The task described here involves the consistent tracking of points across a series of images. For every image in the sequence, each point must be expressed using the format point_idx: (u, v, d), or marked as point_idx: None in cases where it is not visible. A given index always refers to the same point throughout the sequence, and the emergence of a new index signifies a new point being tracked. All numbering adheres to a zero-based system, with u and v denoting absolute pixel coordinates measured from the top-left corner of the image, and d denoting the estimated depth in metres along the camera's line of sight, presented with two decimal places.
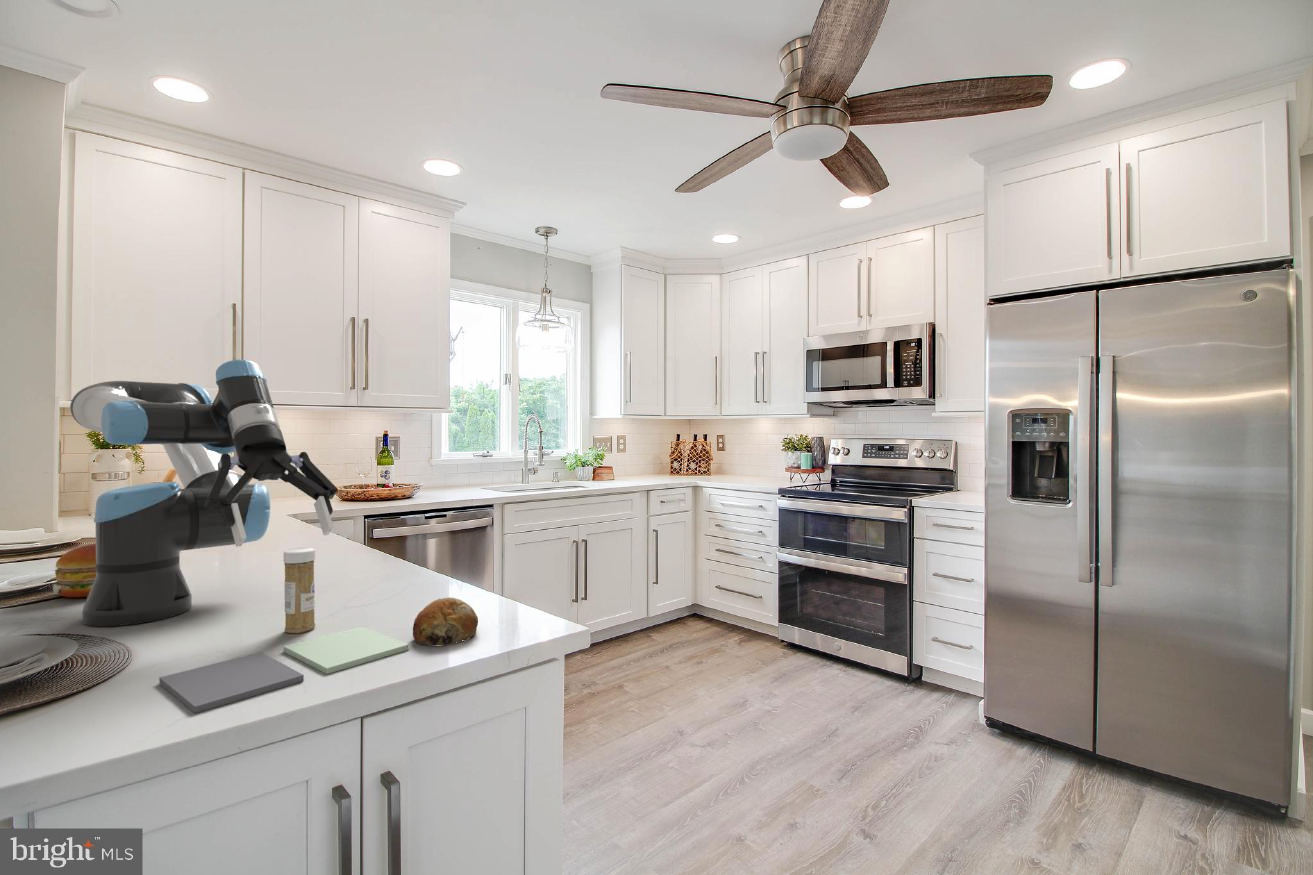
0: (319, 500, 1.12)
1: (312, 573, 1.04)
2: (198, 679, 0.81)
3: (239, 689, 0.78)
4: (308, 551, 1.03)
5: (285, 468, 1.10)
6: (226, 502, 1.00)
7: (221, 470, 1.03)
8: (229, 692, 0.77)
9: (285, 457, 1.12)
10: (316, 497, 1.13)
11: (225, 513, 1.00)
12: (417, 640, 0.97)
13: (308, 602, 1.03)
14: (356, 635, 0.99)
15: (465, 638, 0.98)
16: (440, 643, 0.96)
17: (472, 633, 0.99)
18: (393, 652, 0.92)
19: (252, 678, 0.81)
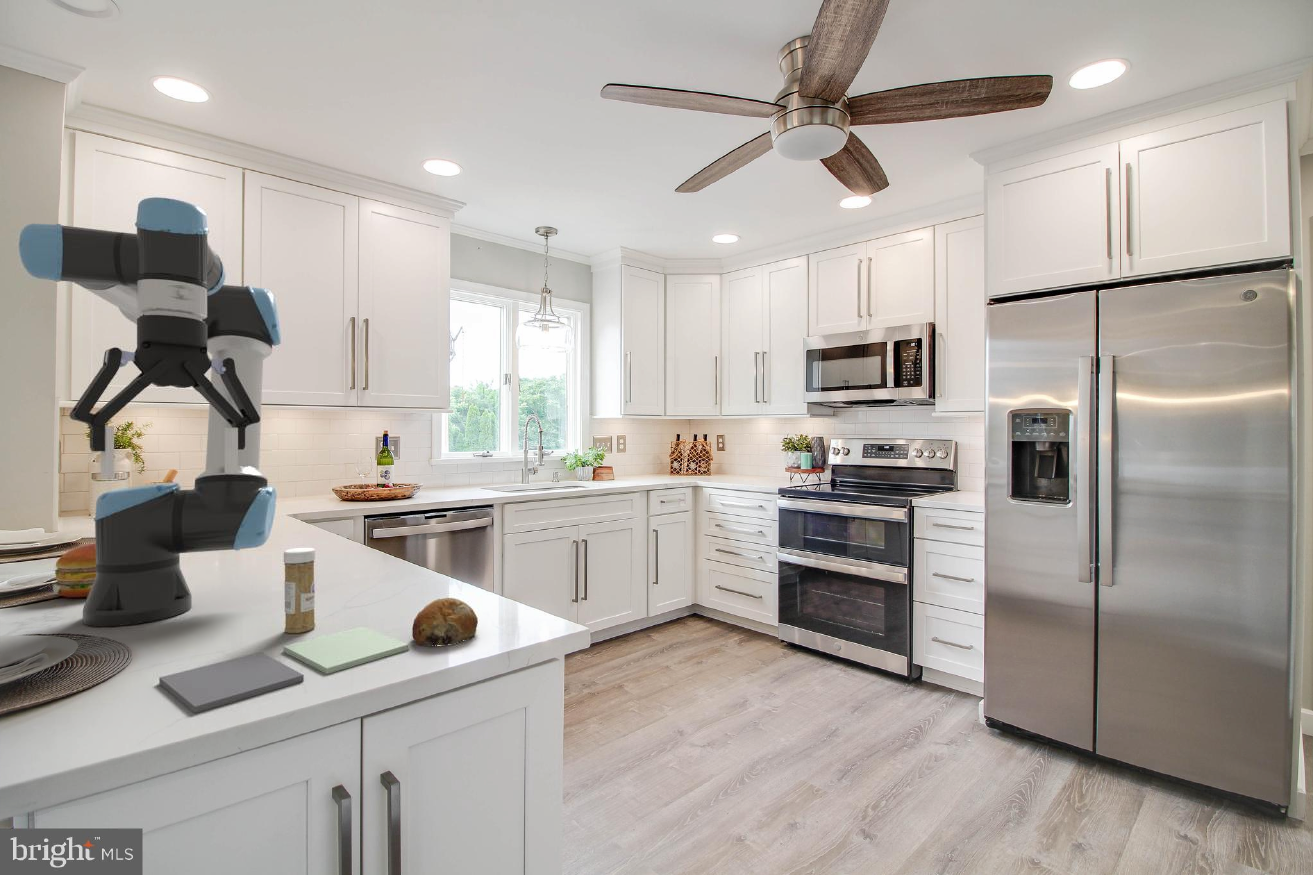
0: (230, 432, 0.88)
1: (312, 573, 1.04)
2: (198, 679, 0.81)
3: (239, 689, 0.78)
4: (308, 551, 1.03)
5: (197, 381, 0.85)
6: (98, 423, 0.77)
7: (103, 373, 0.77)
8: (229, 692, 0.77)
9: (202, 363, 0.86)
10: (230, 420, 0.90)
11: (94, 437, 0.77)
12: (417, 640, 0.97)
13: (309, 602, 1.03)
14: (356, 635, 0.99)
15: (465, 638, 0.98)
16: (440, 643, 0.96)
17: (472, 633, 0.99)
18: (393, 652, 0.92)
19: (252, 678, 0.81)
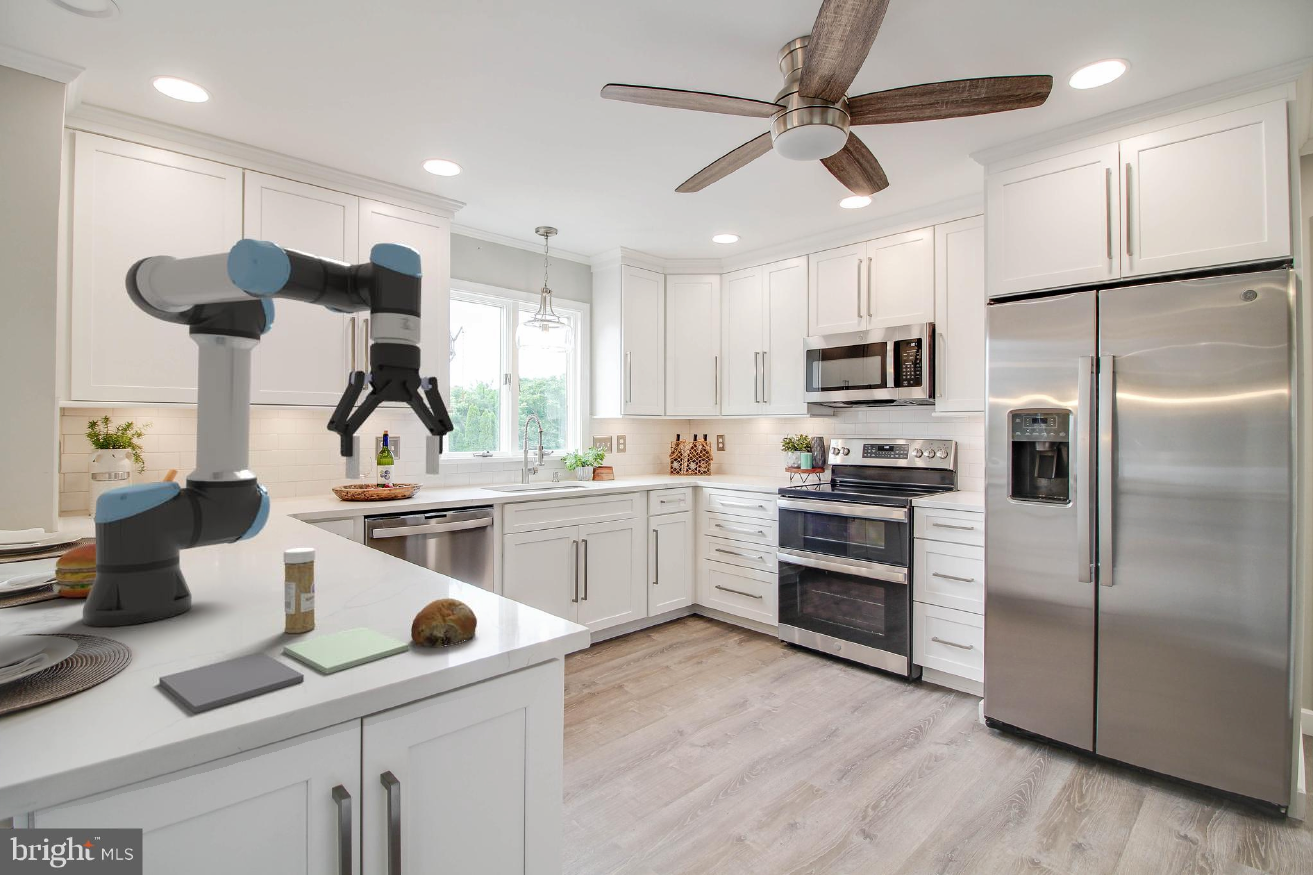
0: (434, 439, 1.05)
1: (312, 573, 1.04)
2: (198, 679, 0.81)
3: (239, 689, 0.78)
4: (308, 551, 1.03)
5: (413, 397, 1.01)
6: (349, 434, 0.93)
7: (353, 392, 0.93)
8: (229, 692, 0.77)
9: (416, 382, 1.02)
10: (431, 429, 1.06)
11: (345, 445, 0.93)
12: (416, 641, 0.96)
13: (309, 602, 1.03)
14: (356, 635, 0.99)
15: (464, 639, 0.98)
16: (439, 644, 0.96)
17: (471, 634, 0.99)
18: (393, 652, 0.92)
19: (252, 678, 0.81)
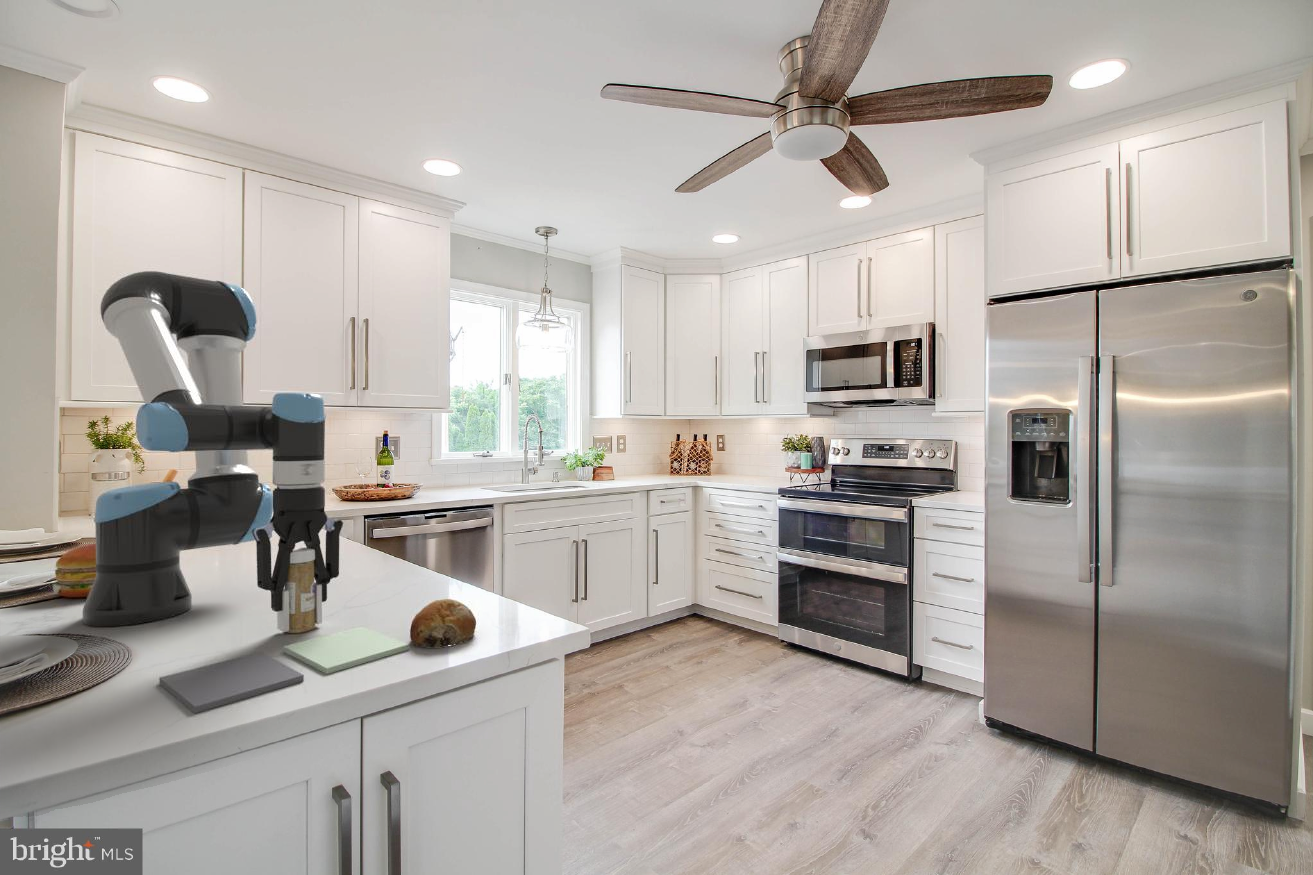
0: (316, 589, 1.05)
1: (312, 573, 1.04)
2: (198, 679, 0.81)
3: (239, 689, 0.78)
4: (308, 551, 1.03)
5: (310, 538, 1.04)
6: (280, 590, 1.00)
7: (263, 551, 0.98)
8: (229, 692, 0.77)
9: (320, 519, 1.05)
10: (314, 576, 1.06)
11: (275, 601, 1.00)
12: (414, 642, 0.96)
13: (309, 602, 1.03)
14: (356, 635, 0.99)
15: (463, 640, 0.98)
16: (438, 645, 0.95)
17: (470, 635, 0.98)
18: (393, 652, 0.92)
19: (252, 678, 0.81)
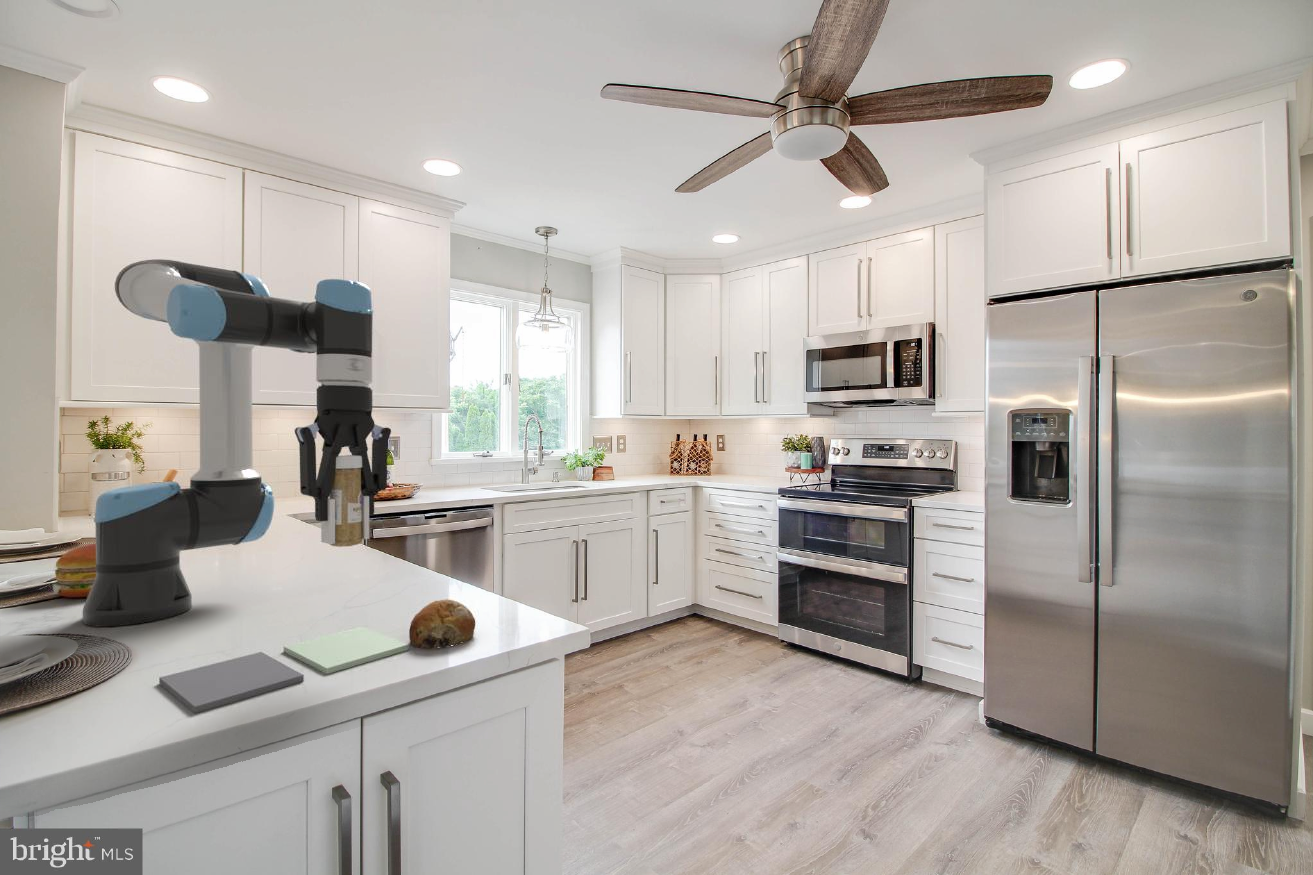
0: (363, 500, 0.95)
1: (359, 482, 0.94)
2: (198, 679, 0.81)
3: (239, 689, 0.78)
4: (355, 456, 0.93)
5: (357, 443, 0.94)
6: (325, 497, 0.90)
7: (308, 452, 0.88)
8: (229, 692, 0.77)
9: (367, 424, 0.95)
10: None
11: (320, 509, 0.90)
12: (414, 643, 0.96)
13: (356, 513, 0.93)
14: (356, 635, 0.99)
15: (462, 640, 0.97)
16: (437, 646, 0.95)
17: (469, 635, 0.98)
18: (393, 652, 0.92)
19: (252, 678, 0.81)
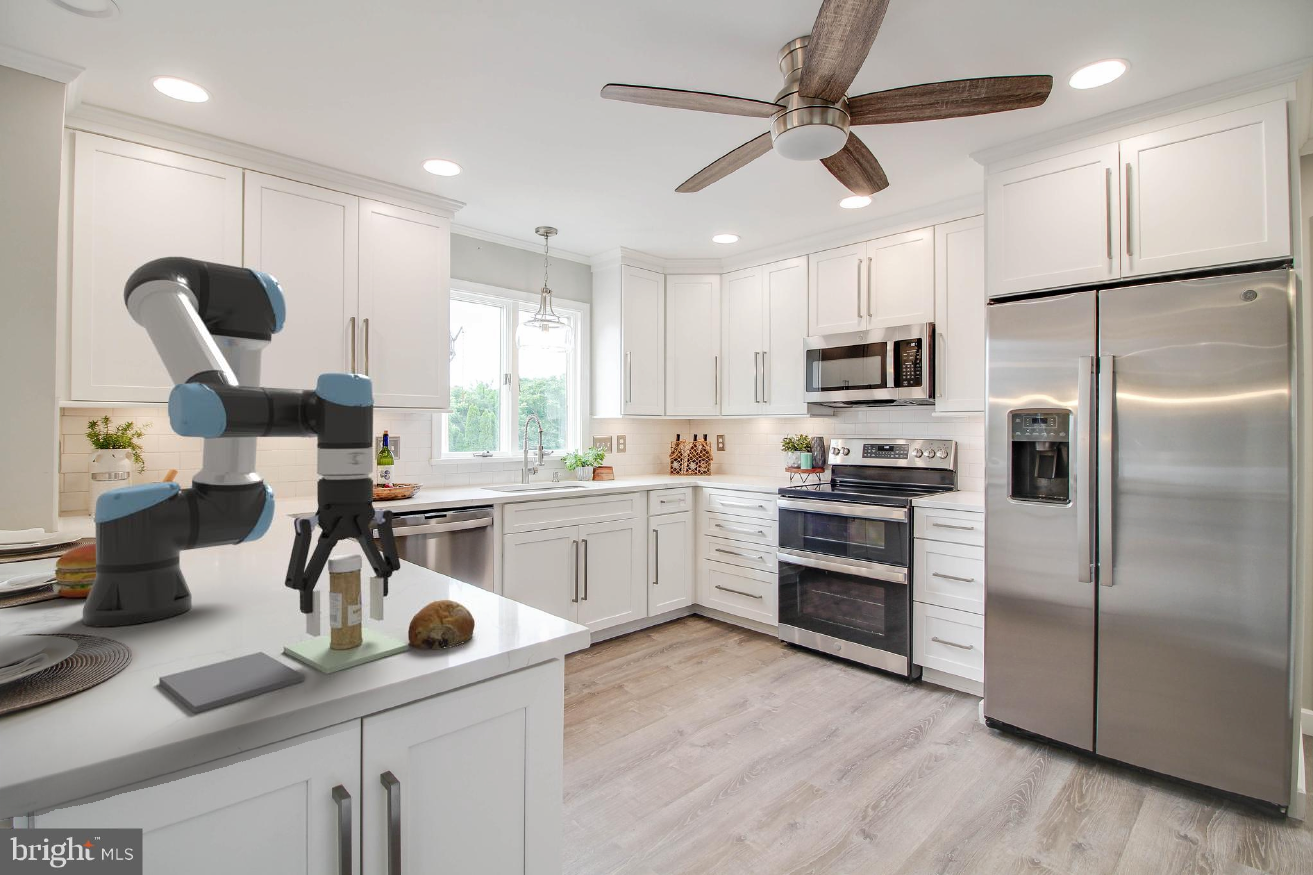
0: (377, 582, 0.97)
1: (359, 583, 0.94)
2: (198, 679, 0.81)
3: (239, 689, 0.78)
4: (355, 559, 0.93)
5: (362, 533, 0.94)
6: (309, 590, 0.89)
7: (302, 544, 0.88)
8: (229, 692, 0.77)
9: (368, 514, 0.95)
10: (375, 569, 0.98)
11: (305, 601, 0.89)
12: (413, 643, 0.95)
13: (356, 615, 0.93)
14: None
15: (461, 641, 0.97)
16: (436, 646, 0.95)
17: (469, 636, 0.98)
18: (393, 652, 0.92)
19: (252, 678, 0.81)
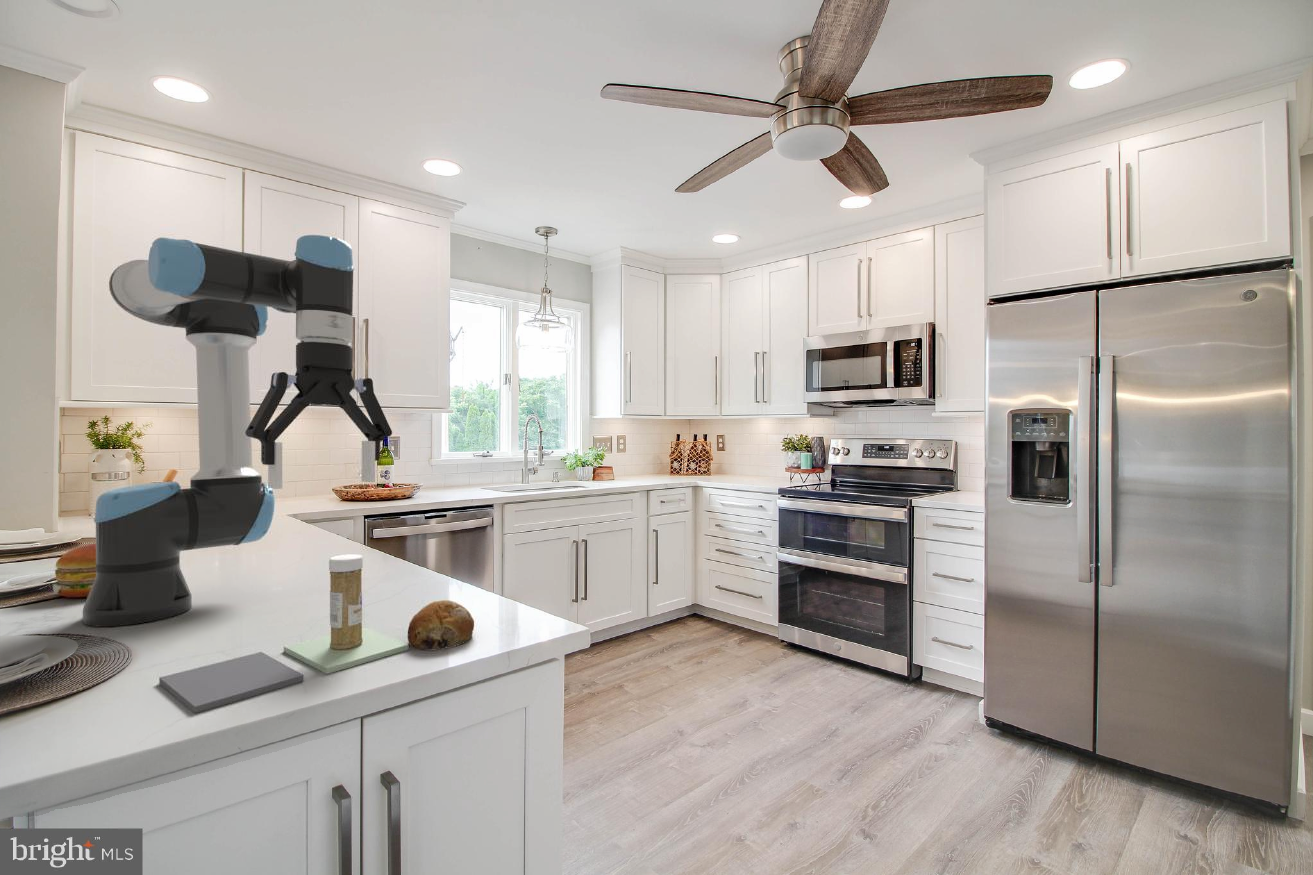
0: (369, 445, 0.98)
1: (360, 583, 0.94)
2: (198, 679, 0.81)
3: (239, 689, 0.78)
4: (356, 558, 0.93)
5: (344, 400, 0.94)
6: (270, 440, 0.86)
7: (274, 395, 0.87)
8: (229, 692, 0.77)
9: (348, 383, 0.95)
10: (366, 434, 0.99)
11: (266, 452, 0.86)
12: (412, 644, 0.95)
13: (356, 614, 0.93)
14: None
15: (461, 642, 0.97)
16: (435, 647, 0.95)
17: (468, 636, 0.98)
18: (393, 652, 0.92)
19: (252, 678, 0.81)
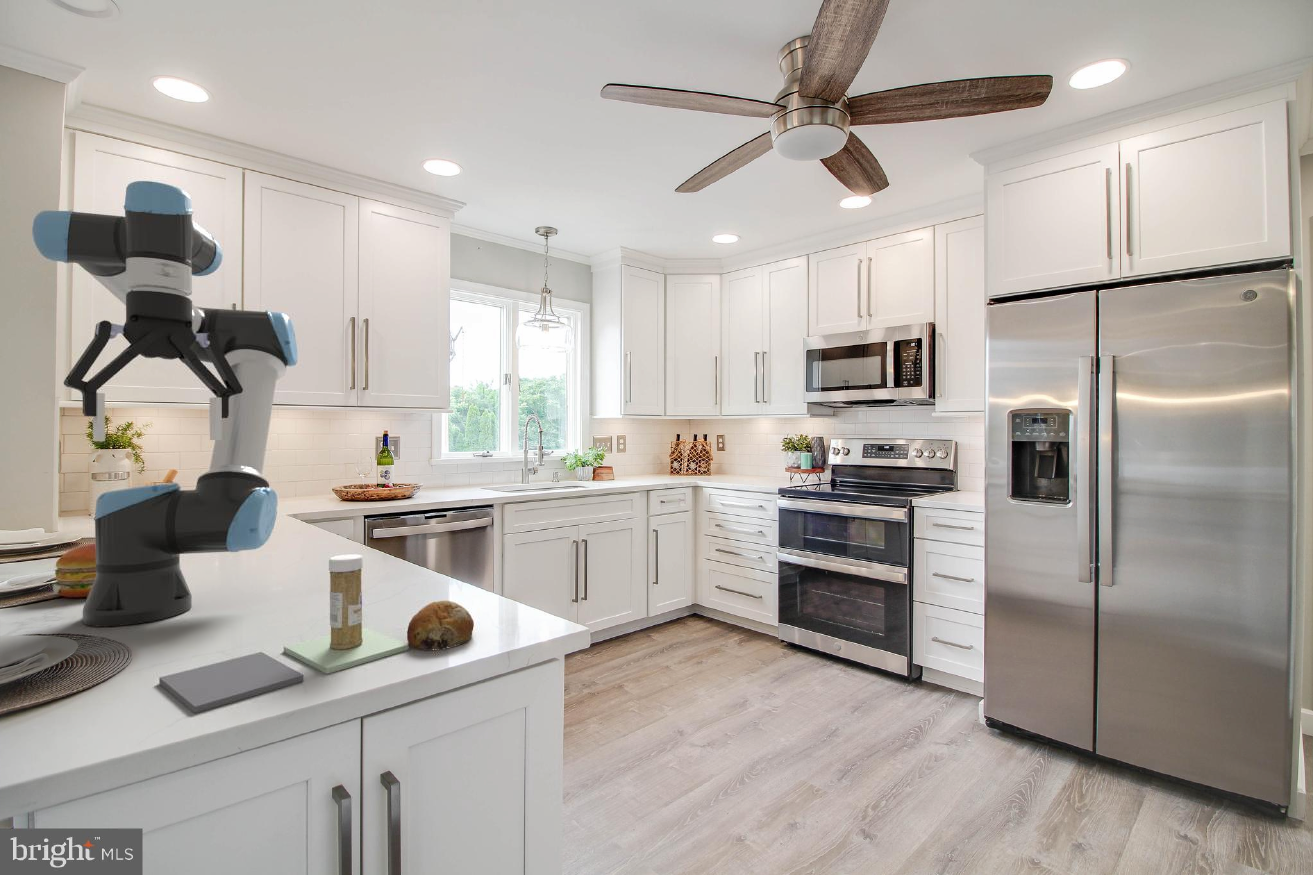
0: (214, 401, 0.95)
1: (360, 583, 0.94)
2: (198, 679, 0.81)
3: (239, 689, 0.78)
4: (356, 558, 0.93)
5: (182, 353, 0.91)
6: (90, 390, 0.83)
7: (94, 344, 0.84)
8: (229, 692, 0.77)
9: (187, 336, 0.92)
10: (214, 391, 0.96)
11: (86, 403, 0.83)
12: (411, 644, 0.95)
13: (356, 614, 0.93)
14: None
15: (460, 642, 0.97)
16: (435, 647, 0.94)
17: (468, 637, 0.97)
18: (393, 652, 0.92)
19: (252, 678, 0.81)
